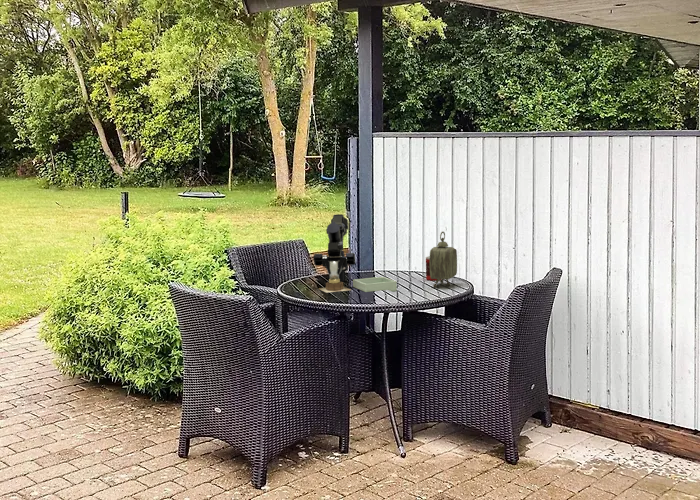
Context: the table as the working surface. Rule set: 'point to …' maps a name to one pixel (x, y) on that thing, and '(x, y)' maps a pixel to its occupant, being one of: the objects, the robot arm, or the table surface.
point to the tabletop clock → (443, 262)
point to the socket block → (334, 287)
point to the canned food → (428, 269)
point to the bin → (375, 284)
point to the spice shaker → (334, 272)
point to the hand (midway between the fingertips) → (333, 274)
